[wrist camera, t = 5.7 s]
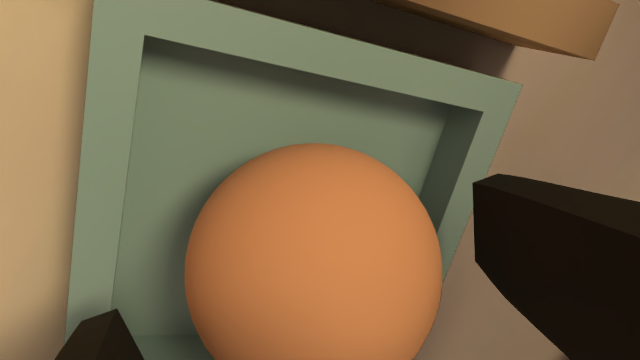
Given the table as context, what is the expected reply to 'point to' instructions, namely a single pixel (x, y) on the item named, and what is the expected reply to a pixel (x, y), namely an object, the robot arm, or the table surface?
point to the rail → (525, 21)
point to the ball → (313, 260)
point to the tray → (246, 140)
